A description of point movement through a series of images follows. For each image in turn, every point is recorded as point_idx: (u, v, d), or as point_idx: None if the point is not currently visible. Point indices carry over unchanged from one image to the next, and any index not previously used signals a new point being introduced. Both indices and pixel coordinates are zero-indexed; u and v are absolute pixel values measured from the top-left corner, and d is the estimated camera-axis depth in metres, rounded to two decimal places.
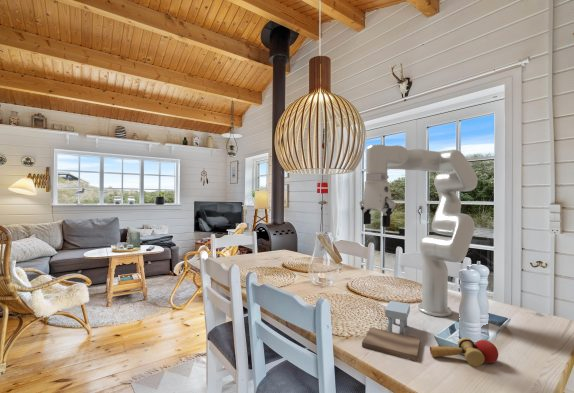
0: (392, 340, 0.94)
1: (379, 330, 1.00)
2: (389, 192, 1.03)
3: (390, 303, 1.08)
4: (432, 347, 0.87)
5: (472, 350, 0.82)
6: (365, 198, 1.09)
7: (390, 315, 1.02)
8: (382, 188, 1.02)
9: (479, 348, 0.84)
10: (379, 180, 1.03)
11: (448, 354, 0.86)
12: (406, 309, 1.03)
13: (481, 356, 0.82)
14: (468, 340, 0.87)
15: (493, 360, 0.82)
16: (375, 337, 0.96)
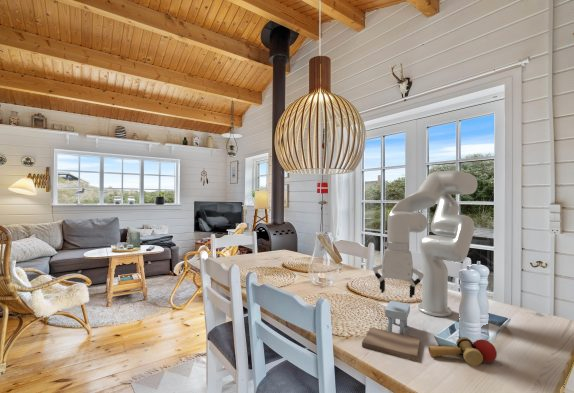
0: (392, 340, 0.94)
1: (379, 330, 1.00)
2: None
3: (390, 303, 1.08)
4: (431, 347, 0.87)
5: (471, 350, 0.83)
6: None
7: (390, 315, 1.02)
8: None
9: (477, 348, 0.84)
10: None
11: (447, 354, 0.86)
12: (406, 309, 1.03)
13: (480, 356, 0.82)
14: (466, 340, 0.88)
15: (491, 359, 0.83)
16: (375, 337, 0.96)
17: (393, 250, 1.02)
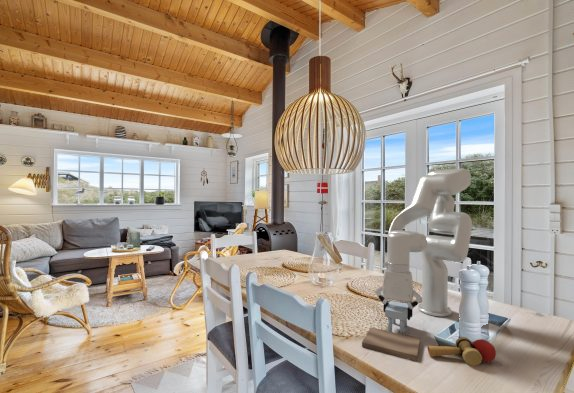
0: (392, 340, 0.94)
1: (379, 330, 1.00)
2: (383, 280, 1.06)
3: (390, 303, 1.08)
4: (430, 347, 0.87)
5: (470, 349, 0.83)
6: None
7: (390, 315, 1.02)
8: None
9: (477, 347, 0.84)
10: None
11: (446, 354, 0.86)
12: (406, 309, 1.03)
13: (479, 355, 0.82)
14: (466, 340, 0.88)
15: (491, 359, 0.83)
16: (375, 337, 0.96)
17: (393, 272, 1.02)
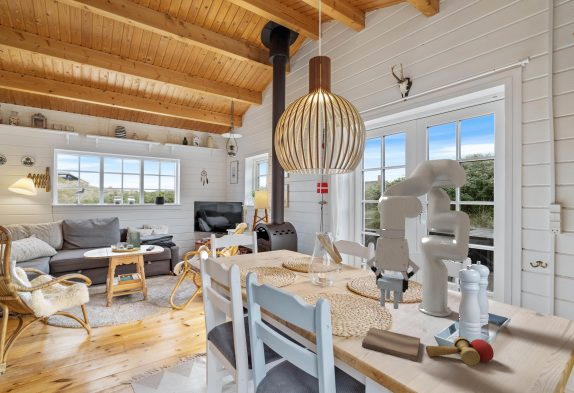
0: (392, 340, 0.94)
1: (379, 330, 1.00)
2: None
3: (384, 275, 0.97)
4: (428, 347, 0.87)
5: (468, 349, 0.83)
6: None
7: (383, 286, 0.91)
8: None
9: (475, 347, 0.84)
10: None
11: (444, 354, 0.86)
12: (401, 280, 0.91)
13: (477, 355, 0.83)
14: (464, 339, 0.88)
15: (488, 359, 0.83)
16: (375, 337, 0.96)
17: (387, 238, 0.91)
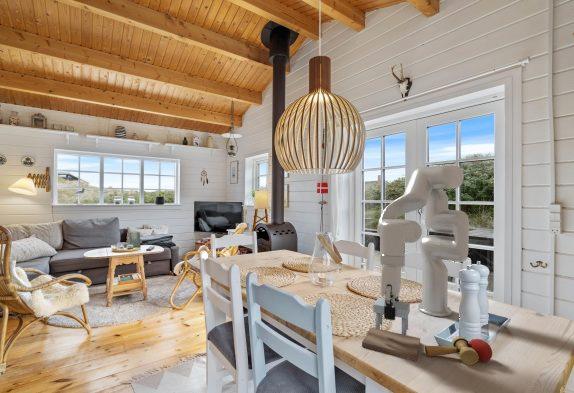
0: (392, 340, 0.94)
1: (379, 330, 1.00)
2: None
3: (399, 302, 0.95)
4: (427, 346, 0.88)
5: (466, 349, 0.83)
6: (397, 286, 0.90)
7: None
8: None
9: (473, 347, 0.85)
10: None
11: (443, 354, 0.86)
12: None
13: (475, 355, 0.83)
14: (462, 339, 0.88)
15: (487, 359, 0.83)
16: (375, 337, 0.96)
17: None
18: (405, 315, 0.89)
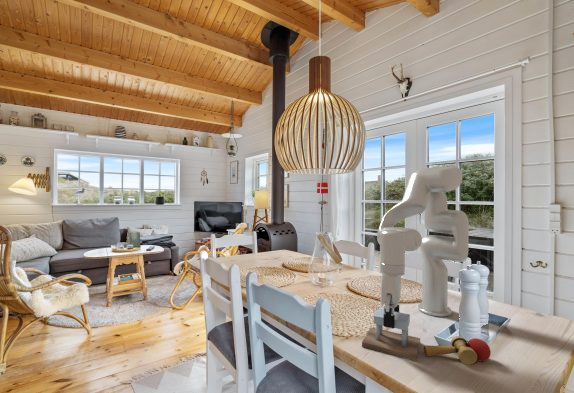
0: (392, 340, 0.94)
1: None
2: None
3: (399, 313, 0.96)
4: (426, 346, 0.88)
5: (465, 349, 0.83)
6: (397, 295, 0.90)
7: None
8: None
9: (472, 346, 0.85)
10: None
11: (442, 353, 0.86)
12: None
13: (474, 354, 0.83)
14: (461, 339, 0.88)
15: (485, 358, 0.83)
16: (375, 337, 0.96)
17: None
18: (405, 327, 0.89)
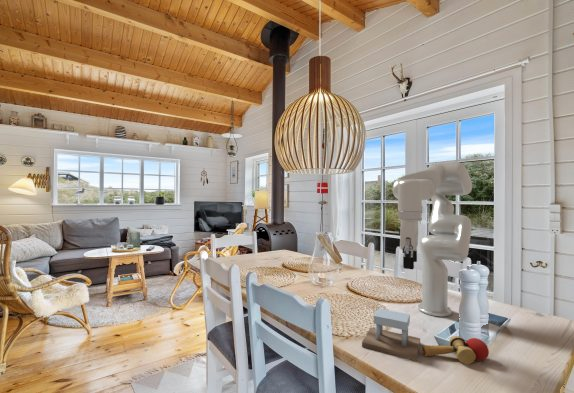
0: (392, 340, 0.94)
1: None
2: None
3: (399, 313, 0.96)
4: (424, 346, 0.88)
5: (464, 348, 0.83)
6: (416, 238, 0.96)
7: None
8: None
9: (470, 346, 0.85)
10: None
11: (440, 353, 0.86)
12: (386, 317, 0.92)
13: (472, 354, 0.83)
14: (459, 338, 0.88)
15: (484, 358, 0.83)
16: (375, 337, 0.96)
17: None
18: (405, 327, 0.89)
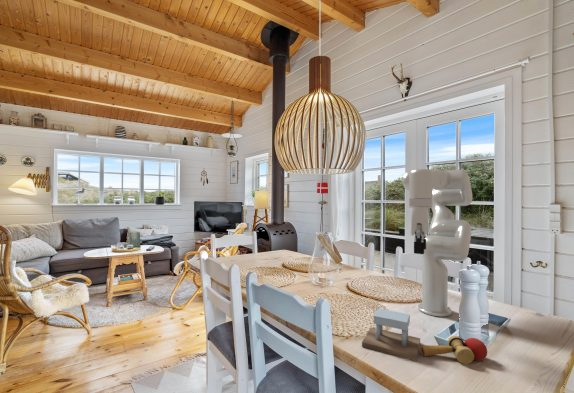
0: (392, 340, 0.94)
1: None
2: None
3: (399, 313, 0.96)
4: (423, 346, 0.88)
5: (462, 348, 0.84)
6: (426, 225, 1.00)
7: None
8: None
9: (469, 346, 0.85)
10: None
11: (439, 353, 0.87)
12: (386, 317, 0.92)
13: (471, 354, 0.83)
14: (458, 338, 0.88)
15: (482, 357, 0.84)
16: (375, 337, 0.96)
17: None
18: (405, 327, 0.89)
